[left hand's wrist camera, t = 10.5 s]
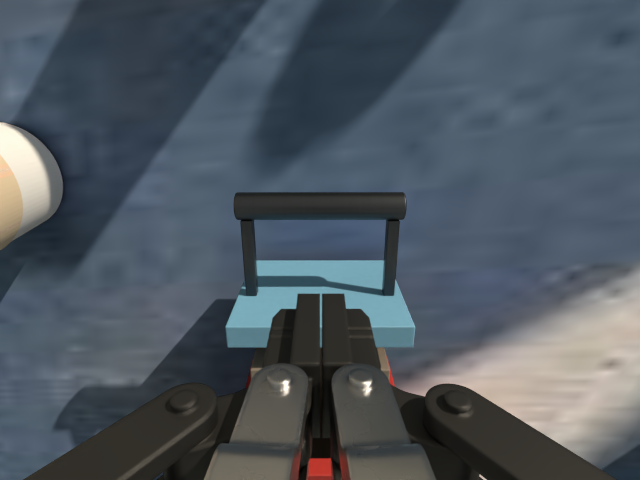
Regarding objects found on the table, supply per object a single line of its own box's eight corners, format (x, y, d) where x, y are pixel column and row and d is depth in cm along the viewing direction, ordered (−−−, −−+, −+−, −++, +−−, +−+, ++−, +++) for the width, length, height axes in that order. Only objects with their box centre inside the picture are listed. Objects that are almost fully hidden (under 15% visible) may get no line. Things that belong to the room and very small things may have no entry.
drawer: (246, 175, 24) (213, 210, 16) (393, 174, 24) (426, 210, 16) (265, 458, 32) (249, 569, 25) (374, 458, 32) (391, 568, 25)
